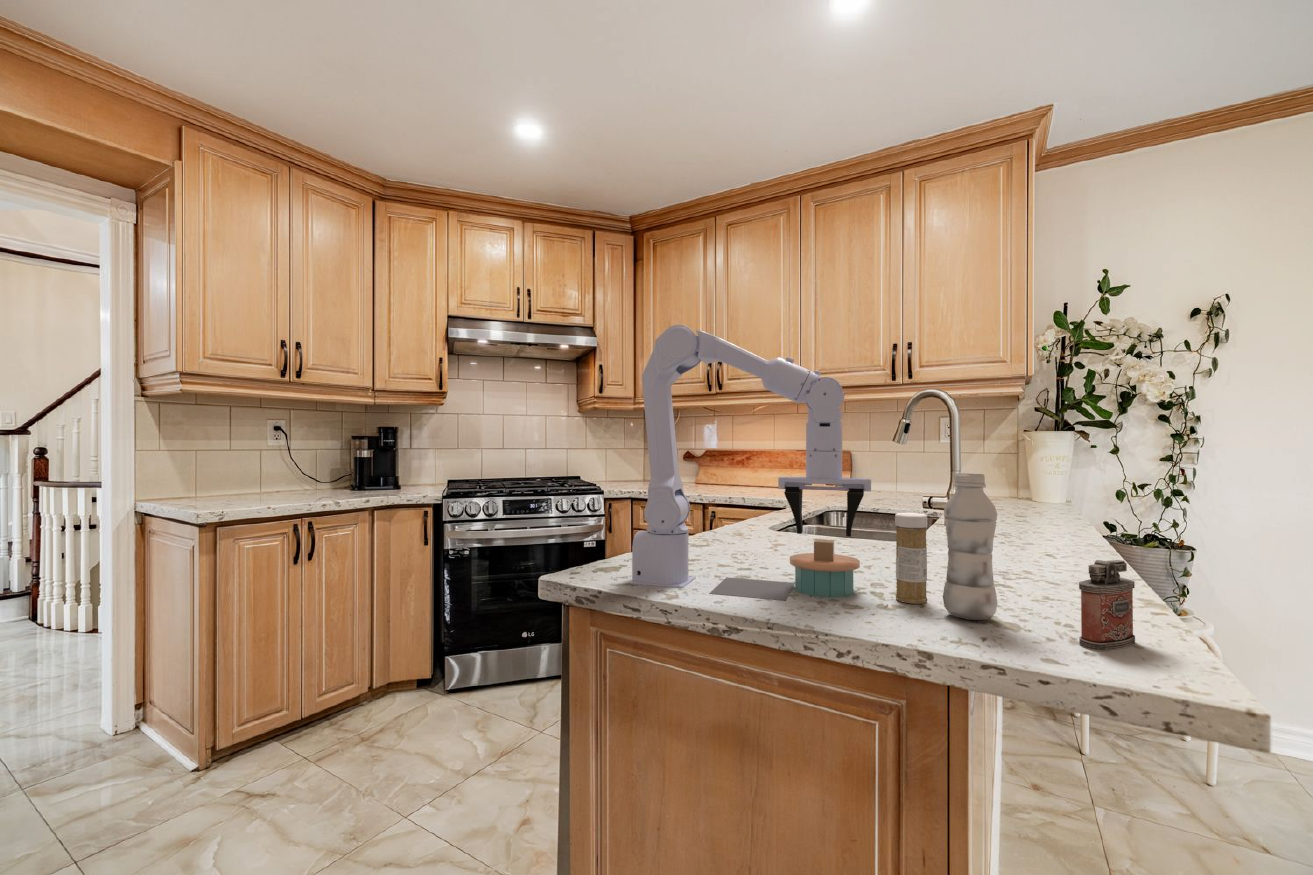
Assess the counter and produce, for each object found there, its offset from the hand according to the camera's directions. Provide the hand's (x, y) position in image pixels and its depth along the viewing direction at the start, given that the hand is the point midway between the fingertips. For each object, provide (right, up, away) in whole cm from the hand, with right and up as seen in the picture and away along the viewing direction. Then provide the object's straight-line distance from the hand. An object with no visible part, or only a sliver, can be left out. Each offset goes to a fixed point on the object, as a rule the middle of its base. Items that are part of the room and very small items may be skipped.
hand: (823, 534), depth 95 cm
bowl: (0, -9, 0) cm, 9 cm away
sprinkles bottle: (+12, -10, -6) cm, 16 cm away
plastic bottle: (+16, -9, -15) cm, 24 cm away
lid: (0, -5, 0) cm, 5 cm away
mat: (-11, -9, +1) cm, 15 cm away
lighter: (+27, -9, -25) cm, 38 cm away
